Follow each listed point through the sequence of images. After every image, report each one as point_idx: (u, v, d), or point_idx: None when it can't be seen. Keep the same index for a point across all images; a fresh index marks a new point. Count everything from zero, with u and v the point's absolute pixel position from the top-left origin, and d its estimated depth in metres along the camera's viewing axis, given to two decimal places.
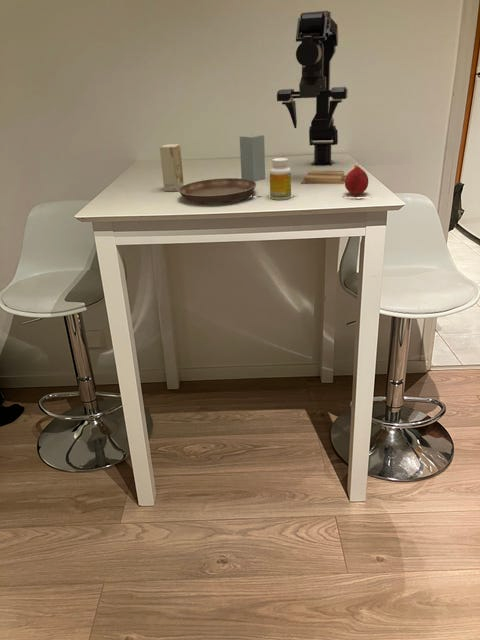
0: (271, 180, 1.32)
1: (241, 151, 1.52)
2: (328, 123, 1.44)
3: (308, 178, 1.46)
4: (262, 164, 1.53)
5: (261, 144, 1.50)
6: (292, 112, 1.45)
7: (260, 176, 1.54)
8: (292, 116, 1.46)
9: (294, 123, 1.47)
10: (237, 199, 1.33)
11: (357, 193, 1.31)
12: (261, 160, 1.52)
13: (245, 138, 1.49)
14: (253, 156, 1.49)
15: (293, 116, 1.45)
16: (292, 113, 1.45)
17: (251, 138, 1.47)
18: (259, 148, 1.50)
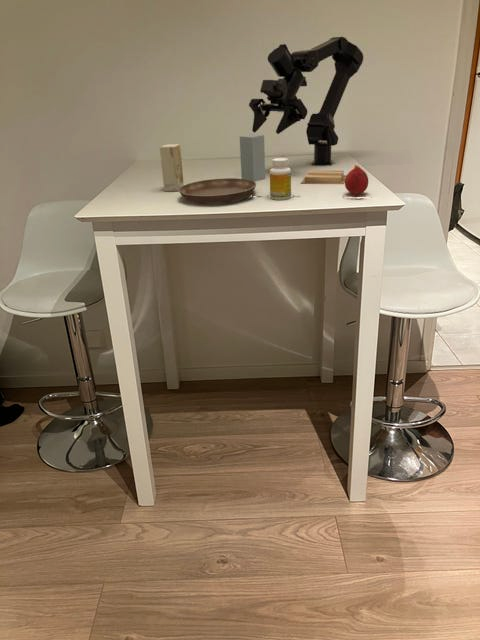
0: (271, 180, 1.32)
1: (241, 151, 1.52)
2: (277, 128, 1.50)
3: (308, 178, 1.46)
4: (262, 164, 1.53)
5: (261, 144, 1.50)
6: (256, 116, 1.56)
7: (260, 176, 1.54)
8: (254, 120, 1.56)
9: (253, 126, 1.56)
10: (237, 199, 1.33)
11: (357, 193, 1.31)
12: (261, 160, 1.52)
13: (245, 138, 1.49)
14: (253, 156, 1.49)
15: (255, 120, 1.56)
16: (256, 118, 1.56)
17: (251, 138, 1.47)
18: (259, 148, 1.50)
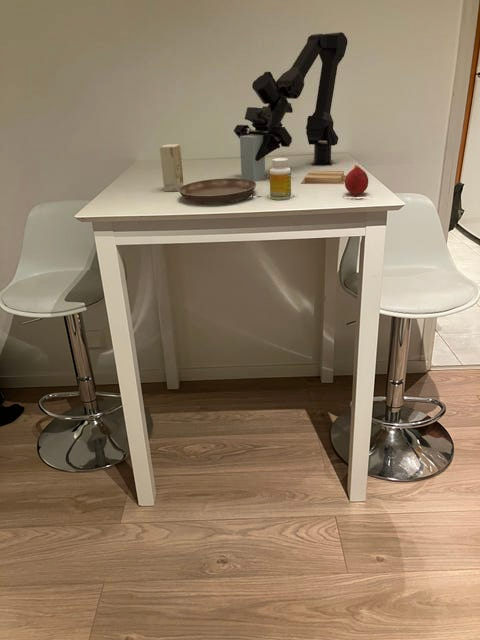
0: (271, 180, 1.32)
1: (241, 151, 1.52)
2: (257, 155, 1.50)
3: (308, 178, 1.47)
4: (262, 164, 1.53)
5: (261, 144, 1.50)
6: None
7: (260, 176, 1.54)
8: None
9: None
10: (237, 199, 1.33)
11: (357, 193, 1.31)
12: (261, 160, 1.52)
13: (245, 138, 1.49)
14: (253, 156, 1.49)
15: None
16: None
17: (251, 138, 1.47)
18: (259, 148, 1.50)
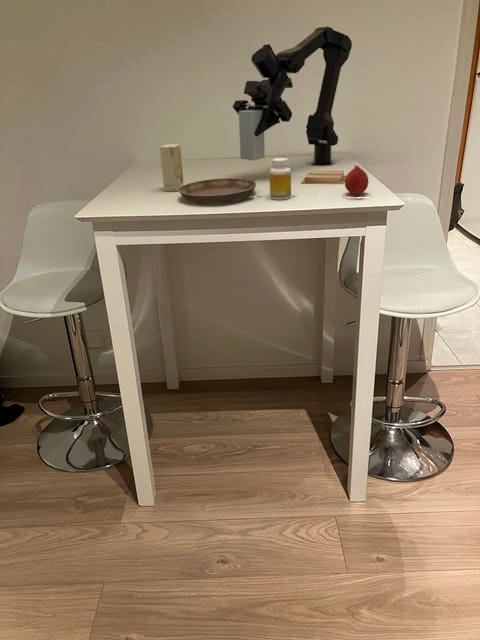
0: (271, 180, 1.32)
1: (240, 126, 1.49)
2: (256, 130, 1.47)
3: (308, 178, 1.47)
4: (261, 140, 1.50)
5: None
6: None
7: (259, 152, 1.51)
8: None
9: None
10: (237, 199, 1.33)
11: (357, 193, 1.31)
12: (260, 136, 1.49)
13: (244, 113, 1.46)
14: (252, 131, 1.46)
15: None
16: None
17: (250, 113, 1.44)
18: (258, 123, 1.47)
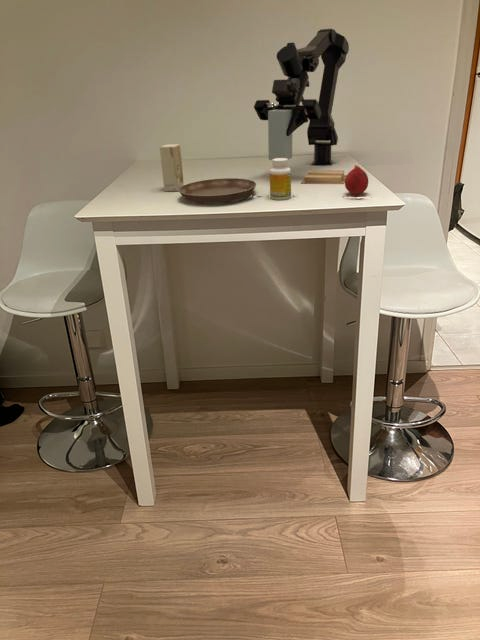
0: (271, 180, 1.32)
1: (269, 126, 1.44)
2: (287, 130, 1.44)
3: (308, 178, 1.47)
4: (290, 140, 1.47)
5: (290, 119, 1.44)
6: None
7: (288, 153, 1.48)
8: None
9: None
10: (237, 199, 1.33)
11: (357, 193, 1.31)
12: (290, 136, 1.46)
13: (275, 112, 1.42)
14: (284, 131, 1.43)
15: None
16: None
17: (283, 112, 1.41)
18: None
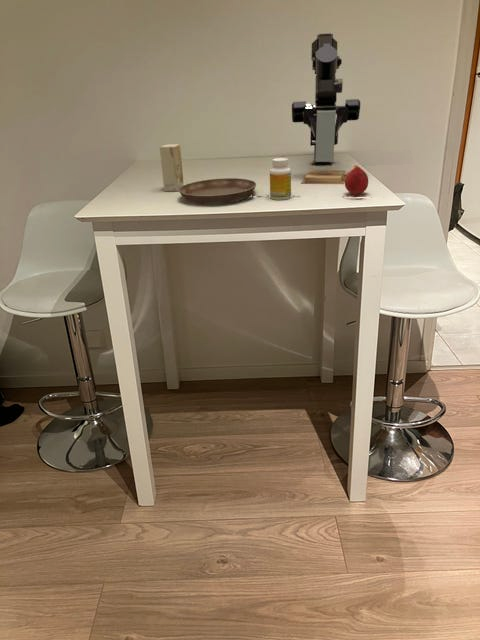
0: (271, 180, 1.32)
1: (318, 128, 1.42)
2: (335, 130, 1.43)
3: (308, 178, 1.47)
4: None
5: None
6: (313, 120, 1.44)
7: None
8: (313, 124, 1.44)
9: (315, 130, 1.44)
10: (237, 199, 1.33)
11: (357, 193, 1.31)
12: None
13: (325, 113, 1.40)
14: (334, 132, 1.42)
15: (314, 124, 1.44)
16: (313, 121, 1.44)
17: (334, 112, 1.40)
18: None
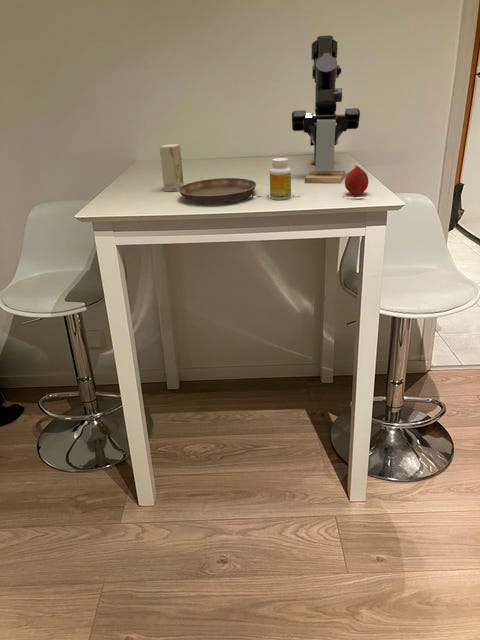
0: (271, 180, 1.32)
1: (318, 137, 1.43)
2: (335, 139, 1.44)
3: (308, 178, 1.46)
4: None
5: None
6: (313, 129, 1.45)
7: None
8: (313, 132, 1.45)
9: (315, 139, 1.45)
10: (237, 199, 1.33)
11: (357, 193, 1.31)
12: None
13: (325, 122, 1.41)
14: None
15: (314, 132, 1.45)
16: (313, 130, 1.45)
17: (334, 122, 1.41)
18: None
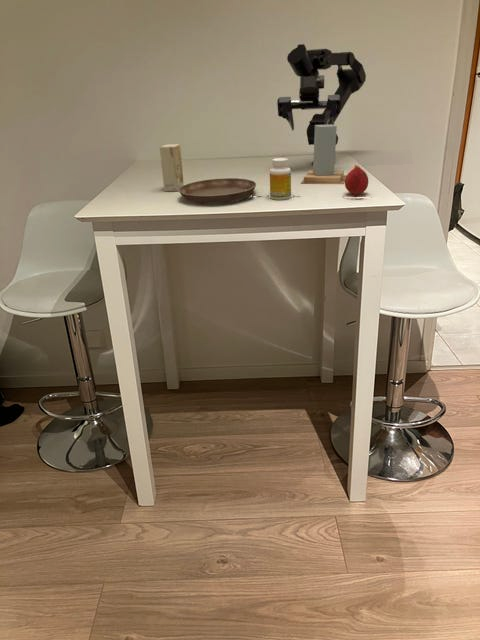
0: (271, 180, 1.32)
1: (319, 142, 1.44)
2: (325, 123, 1.53)
3: (307, 178, 1.47)
4: None
5: None
6: (291, 114, 1.54)
7: None
8: (290, 118, 1.54)
9: (292, 124, 1.54)
10: (237, 199, 1.33)
11: (357, 193, 1.31)
12: None
13: (326, 128, 1.42)
14: None
15: (291, 118, 1.54)
16: (291, 116, 1.54)
17: (335, 127, 1.42)
18: None
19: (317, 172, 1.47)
